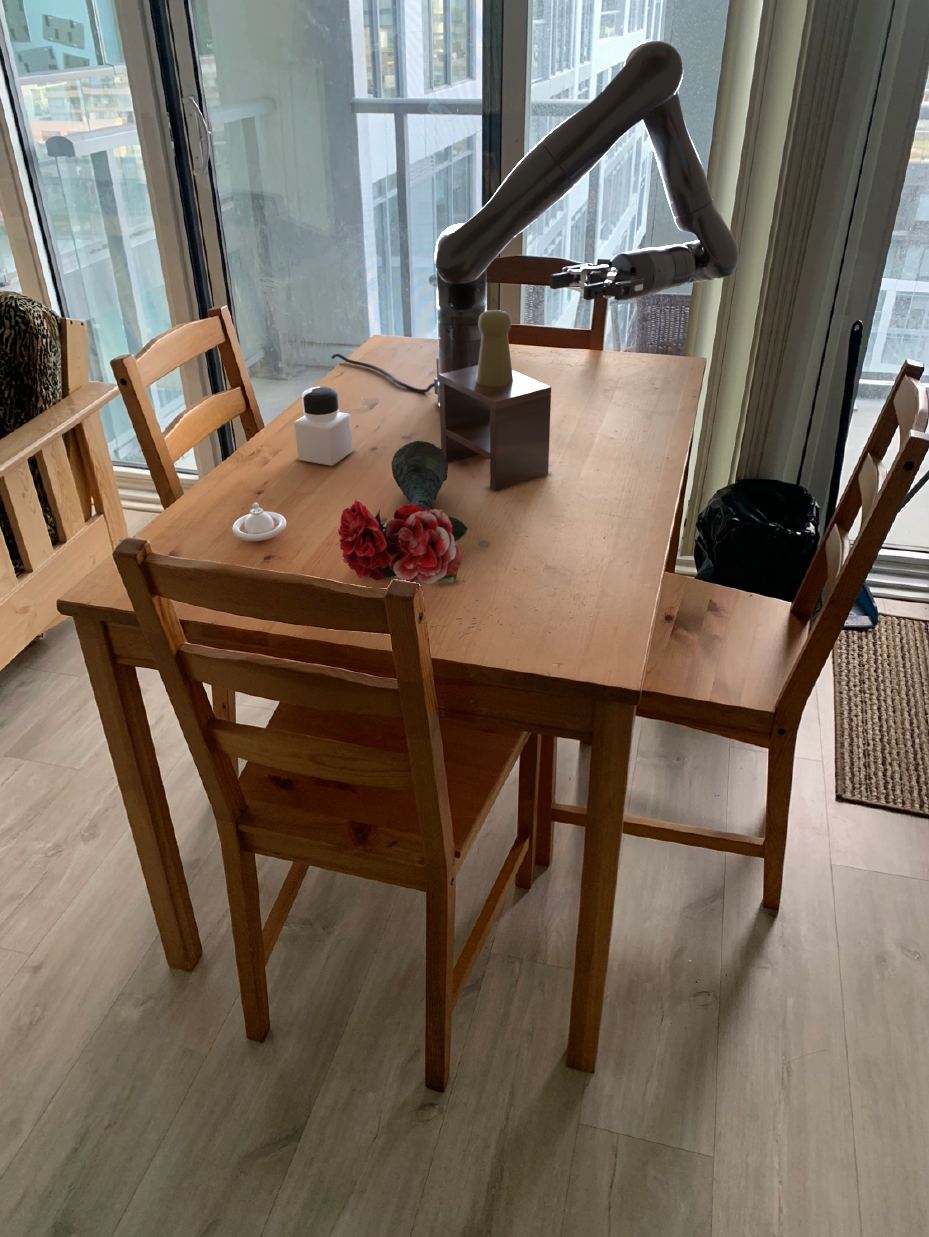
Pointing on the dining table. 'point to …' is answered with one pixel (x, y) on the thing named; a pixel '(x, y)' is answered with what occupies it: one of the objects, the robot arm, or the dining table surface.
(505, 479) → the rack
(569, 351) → the dining table surface
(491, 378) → the cork
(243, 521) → the ring around a ball
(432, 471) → the carnation
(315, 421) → the medicine bottle
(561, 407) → the dining table surface
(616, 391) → the dining table surface
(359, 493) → the dining table surface
